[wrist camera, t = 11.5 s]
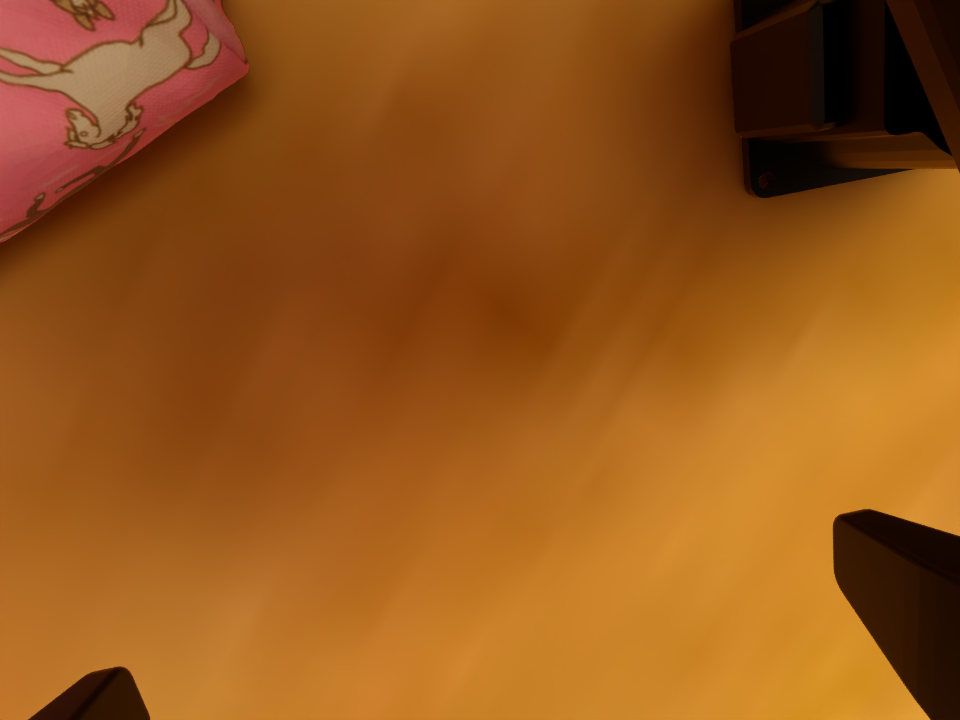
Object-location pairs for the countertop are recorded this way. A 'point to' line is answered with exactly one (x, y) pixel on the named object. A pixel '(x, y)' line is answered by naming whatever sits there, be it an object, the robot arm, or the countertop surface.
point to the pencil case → (98, 88)
